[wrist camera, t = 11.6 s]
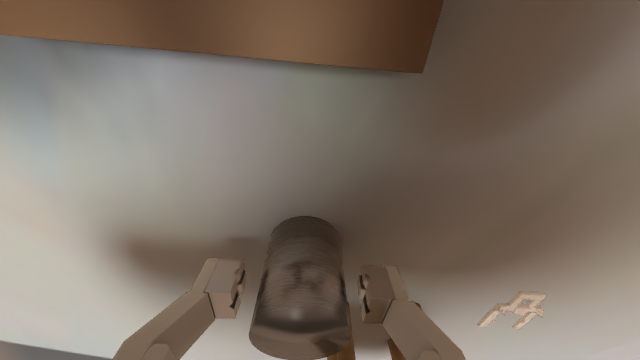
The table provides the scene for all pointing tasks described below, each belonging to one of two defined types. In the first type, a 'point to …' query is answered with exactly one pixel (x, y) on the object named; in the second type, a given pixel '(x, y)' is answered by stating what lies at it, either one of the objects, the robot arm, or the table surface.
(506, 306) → the beige angular frame
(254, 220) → the table surface
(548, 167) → the table surface
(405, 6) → the balance
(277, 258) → the grey domed cylinder
